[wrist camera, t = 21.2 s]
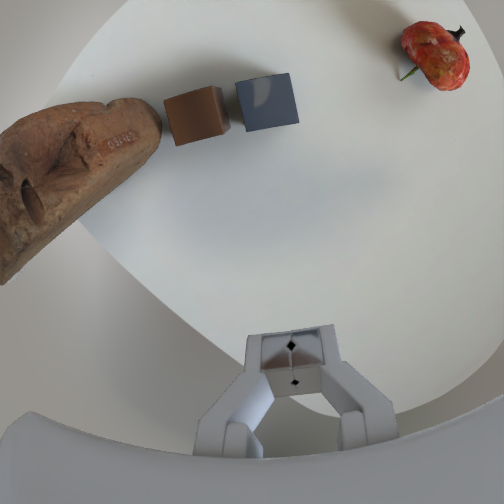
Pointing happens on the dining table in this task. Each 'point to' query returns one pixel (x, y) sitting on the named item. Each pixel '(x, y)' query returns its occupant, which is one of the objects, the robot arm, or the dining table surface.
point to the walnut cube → (197, 115)
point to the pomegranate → (437, 54)
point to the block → (66, 169)
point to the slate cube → (267, 102)
